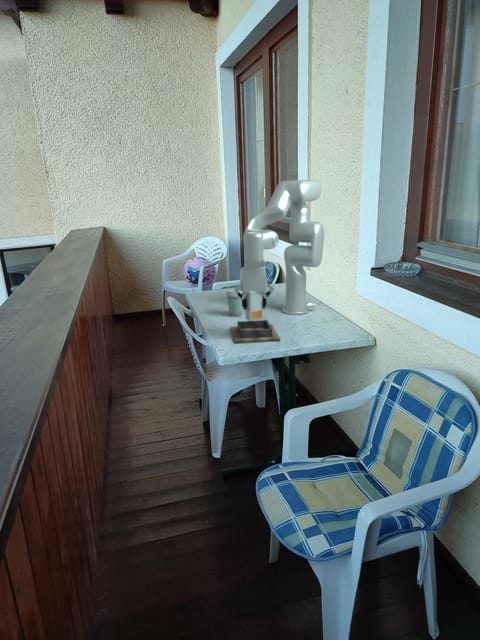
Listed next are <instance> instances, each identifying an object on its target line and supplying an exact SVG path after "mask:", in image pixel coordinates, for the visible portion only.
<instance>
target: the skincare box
mask: <svg viewBox="0 0 480 640" xmlns="http://www.w3.org/2000/svg"><path fill="white" fill-rule="evenodd" d="M245 299H246V309H244V310H245V311H244V312H245V317H244V318H245V320H246V321H258V320H264V316H263V313H264V308H263V295H262V293H256V292H249V293H247V295H246V297H245Z"/></svg>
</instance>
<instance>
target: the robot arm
mask: <svg viewBox="0 0 480 640" xmlns="http://www.w3.org/2000/svg"><path fill="white" fill-rule="evenodd" d="M321 194H322V184H321V183H320V182H319V180H316V179H294V180H283V181H280V182H279V183H277V185H276V187H275V188H274V192H272V196H271V198H270V200H269V202H268V204H267V206H266V207H265V208H263V209H262V210H260V211H259V212H258V213H257V214H255V215H254V216H253V217H252V218H251V219H250V220H249V222H248V224H247V225H246V226H245V227H246V228H245V229H244V232H243V235H242V236H243V237H242V240H243V242H242V243H243V261H244V263H243V265H244V266H242V267H243V268H242V267H241V269H242V273H241V283H240V282H239V284H238V285H237V286H236V287H235V289H234V288H233V289H234V292H235V293H236V294H237V295H238V296H239V297H240V298H241V299H242V307H243V309H244V310H245V309H246V299H245V297H246V295H247V293H249V292H256V293H262V295H263V309H266V306H267V299H268V297H269V296H270V295H271V294H272V293H273V292H274V290H275V288H274V287H273V286H272V285H271V284H270V283H268V282H267V281H268V279H267V271H266V267H265V265H268V260H264V250H273V249H274V248H276V246H278V244H279V241H280V240H279V235H278V234H277V232H275V231H274V230H272V229H263V228H264V227H266V226H269V225H271V224H274V223H276V222H279V221H282V220H283V219H285V218H286V216H287V214H288V212H289V211H288V210H289V209H290V218H289V219H290V221H289V239H290V241H292V242H296V243H308V244H309V243H310V245H300V244H292V245H291V244H290V245H288V246H286V248H285V250H284V252H283V257H284V265H285V306H283V307H282V309H281V310H282V312H283V313H284V314H288V315H293V316H294V315H296V316H299V315H305V314H308V312H309V311H310V310H309V308H316V306H317V305H316V303H315V302H307V272H306V271H305V268H318V267H319V266H320V265H321V263H322V258H323V252H324V241H325V228H324V225H323V224H322V223H321V222H320V221H313V220H312V221H310V213H311V212H310V210H311V209H310V207H309V205H308V203H307V202H313V201H316V200H318V199H319V198H320V196H321ZM304 267H305V268H304ZM240 288H241V290H242V292H243V293H242V294H241V293H240V292H239V291H238V290H239V289H240ZM267 289H268V290H267Z"/></svg>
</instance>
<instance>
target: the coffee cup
mask: <svg viewBox="0 0 480 640" xmlns="http://www.w3.org/2000/svg"><path fill="white" fill-rule="evenodd" d="M235 288H236V287H235ZM235 288H230V289H229V288H228V289H227V290H226V292H225V296H226V300H227V306H228V307H227V308H228V312H229V317H234V318H236V317H241V316H242V315H243V309H244V307H242V299H241V298H240V297H239V296H238V295H237V294H236V293H235V292H234V289H235ZM238 291H239V292H240V293H241V294H242V293H243V292H242V290H241V289H239V290H238Z"/></svg>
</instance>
